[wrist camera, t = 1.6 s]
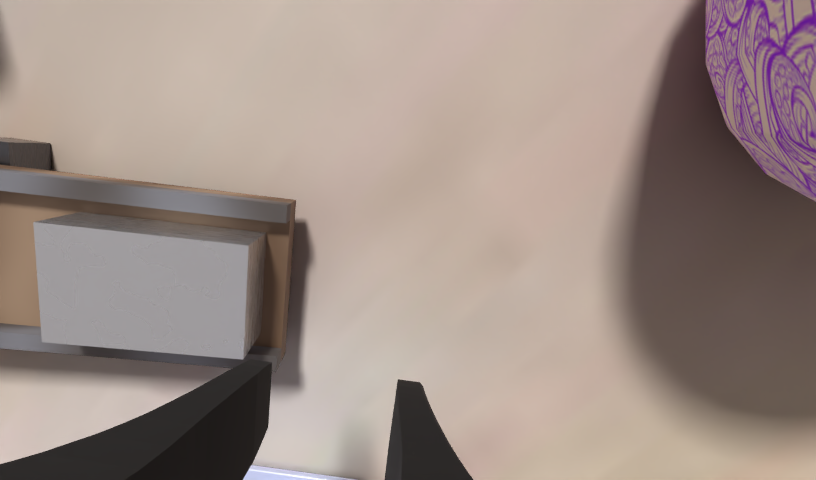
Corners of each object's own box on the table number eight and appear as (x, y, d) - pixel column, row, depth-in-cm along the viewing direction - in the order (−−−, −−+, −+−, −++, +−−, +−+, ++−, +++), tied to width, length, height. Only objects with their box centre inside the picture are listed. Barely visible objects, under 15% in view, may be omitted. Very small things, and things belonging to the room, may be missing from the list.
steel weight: (266, 232, 18) (248, 245, 16) (260, 333, 20) (243, 359, 17) (81, 211, 18) (33, 221, 15) (86, 317, 19) (41, 342, 16)
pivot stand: (49, 143, 20) (8, 142, 18) (61, 327, 22) (24, 344, 20) (10, 138, 20) (-36, 136, 18) (25, 322, 22) (-15, 339, 20)
